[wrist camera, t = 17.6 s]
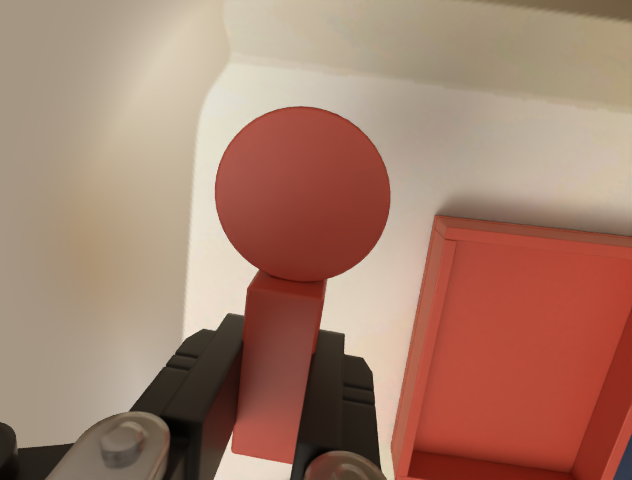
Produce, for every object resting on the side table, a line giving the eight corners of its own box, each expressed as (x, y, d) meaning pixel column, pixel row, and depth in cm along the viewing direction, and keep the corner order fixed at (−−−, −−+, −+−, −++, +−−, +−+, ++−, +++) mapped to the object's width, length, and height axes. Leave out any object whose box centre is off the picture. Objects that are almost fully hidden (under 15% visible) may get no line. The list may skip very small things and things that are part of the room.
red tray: (434, 214, 19) (447, 226, 17) (659, 239, 19) (707, 255, 16) (390, 446, 24) (395, 483, 21) (571, 473, 23) (598, 514, 20)
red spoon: (235, 96, 8) (208, 89, 6) (401, 122, 8) (413, 121, 6) (212, 399, 10) (189, 446, 9) (339, 423, 10) (337, 475, 9)
